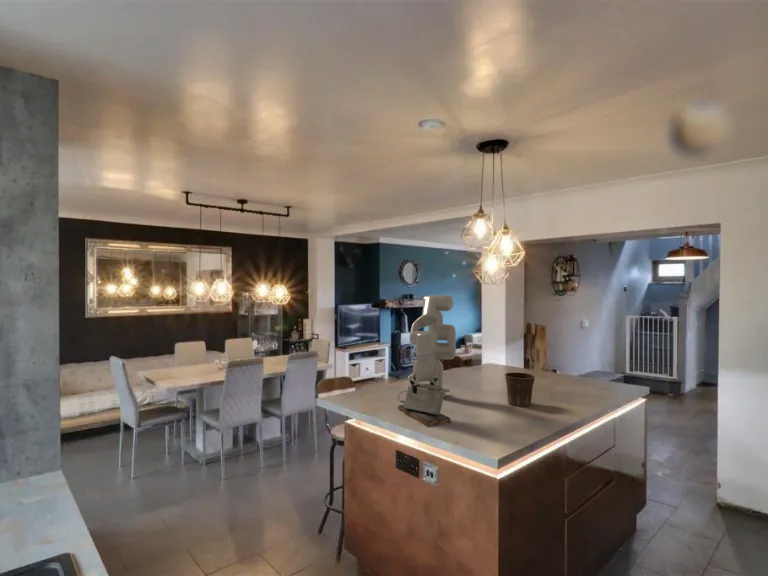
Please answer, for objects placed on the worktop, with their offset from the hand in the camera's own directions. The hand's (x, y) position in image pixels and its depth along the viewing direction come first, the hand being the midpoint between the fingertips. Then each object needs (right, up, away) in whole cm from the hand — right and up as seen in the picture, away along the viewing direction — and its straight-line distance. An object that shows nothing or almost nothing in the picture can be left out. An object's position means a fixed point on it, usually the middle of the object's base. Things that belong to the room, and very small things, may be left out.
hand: (423, 392), depth 218 cm
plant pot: (+55, -13, +24) cm, 62 cm away
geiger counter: (-4, -9, -2) cm, 10 cm away
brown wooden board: (0, -12, 0) cm, 12 cm away
